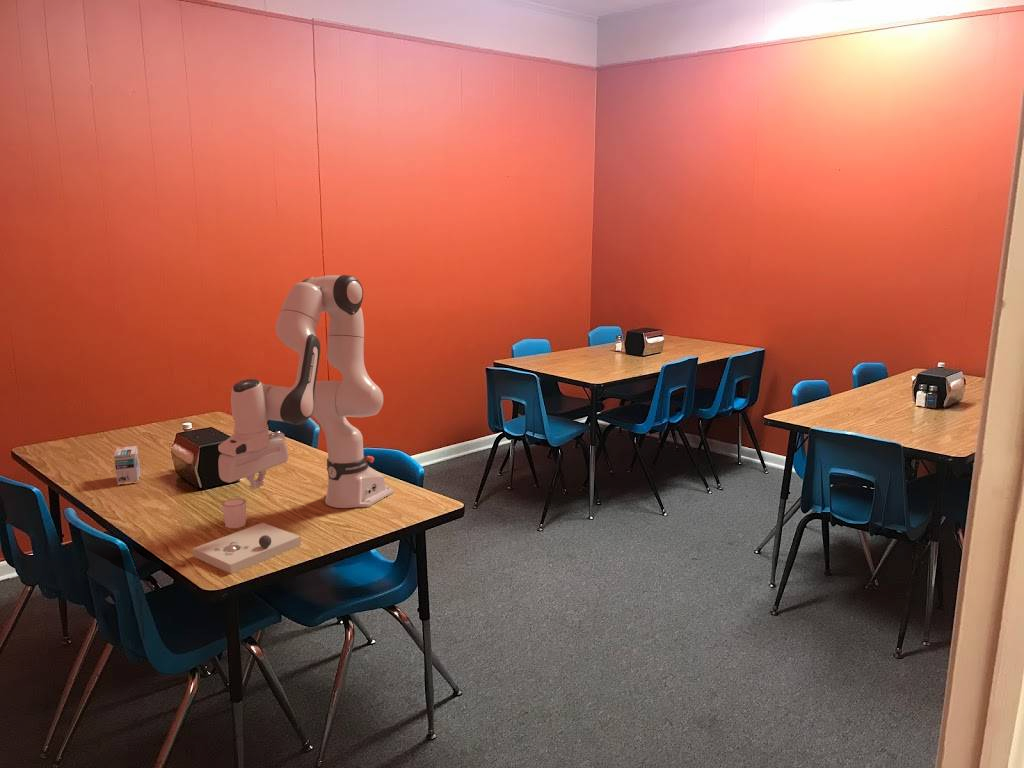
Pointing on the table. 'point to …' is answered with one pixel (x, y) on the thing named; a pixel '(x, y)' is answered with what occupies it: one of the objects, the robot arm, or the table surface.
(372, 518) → the table surface
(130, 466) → the light bulb box
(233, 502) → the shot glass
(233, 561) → the board
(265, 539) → the black rubber ball
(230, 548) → the steel ball
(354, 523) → the table surface
